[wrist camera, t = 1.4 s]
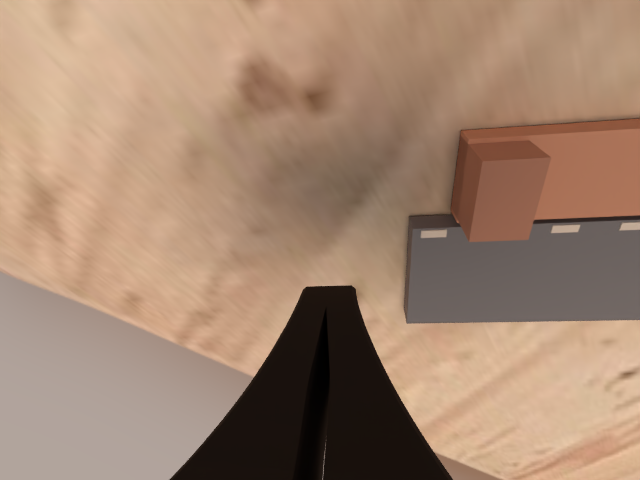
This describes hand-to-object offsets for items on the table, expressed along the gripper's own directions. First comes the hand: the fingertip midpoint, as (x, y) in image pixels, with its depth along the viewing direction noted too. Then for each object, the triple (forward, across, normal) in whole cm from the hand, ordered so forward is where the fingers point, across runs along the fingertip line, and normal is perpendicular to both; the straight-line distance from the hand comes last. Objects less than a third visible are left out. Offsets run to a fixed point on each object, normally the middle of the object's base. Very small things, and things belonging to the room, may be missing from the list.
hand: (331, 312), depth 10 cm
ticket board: (+9, -10, +6) cm, 15 cm away
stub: (+9, -10, 0) cm, 14 cm away
